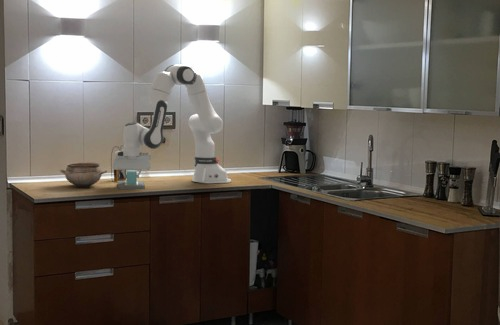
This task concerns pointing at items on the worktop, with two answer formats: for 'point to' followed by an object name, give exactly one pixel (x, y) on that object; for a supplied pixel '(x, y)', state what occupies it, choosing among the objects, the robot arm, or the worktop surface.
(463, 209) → the worktop surface
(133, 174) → the block
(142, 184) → the header board
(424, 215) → the worktop surface
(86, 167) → the cooking pot
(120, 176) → the multimeter
